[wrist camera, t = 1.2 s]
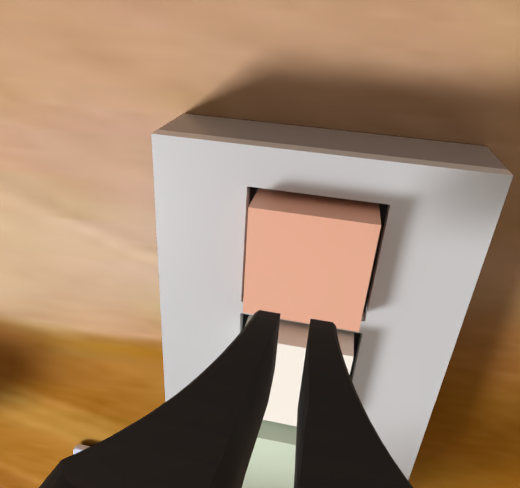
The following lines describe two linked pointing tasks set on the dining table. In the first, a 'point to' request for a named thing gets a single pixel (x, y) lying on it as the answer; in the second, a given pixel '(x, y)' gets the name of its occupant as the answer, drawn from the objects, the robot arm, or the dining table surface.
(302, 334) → the cream key
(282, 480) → the sage key
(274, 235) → the terracotta key
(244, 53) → the dining table surface
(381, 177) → the keypad base
